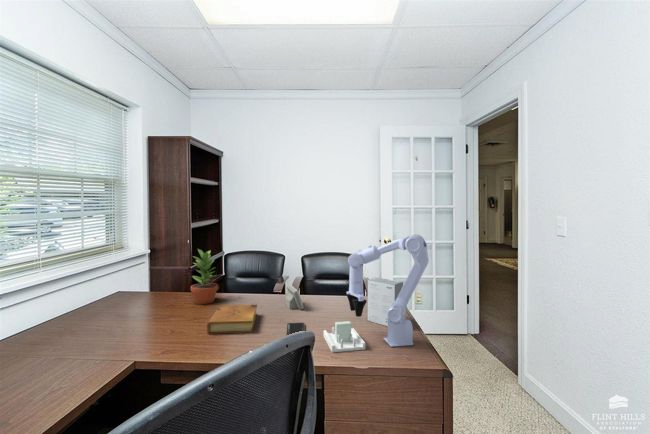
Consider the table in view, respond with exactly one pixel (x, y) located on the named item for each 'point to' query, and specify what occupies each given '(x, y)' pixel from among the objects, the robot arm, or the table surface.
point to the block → (343, 330)
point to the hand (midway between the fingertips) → (355, 313)
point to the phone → (295, 327)
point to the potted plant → (204, 280)
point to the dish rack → (344, 342)
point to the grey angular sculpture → (293, 298)
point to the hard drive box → (381, 298)
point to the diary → (232, 319)
